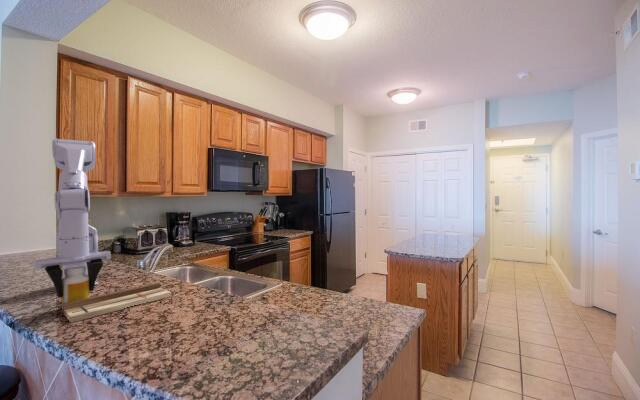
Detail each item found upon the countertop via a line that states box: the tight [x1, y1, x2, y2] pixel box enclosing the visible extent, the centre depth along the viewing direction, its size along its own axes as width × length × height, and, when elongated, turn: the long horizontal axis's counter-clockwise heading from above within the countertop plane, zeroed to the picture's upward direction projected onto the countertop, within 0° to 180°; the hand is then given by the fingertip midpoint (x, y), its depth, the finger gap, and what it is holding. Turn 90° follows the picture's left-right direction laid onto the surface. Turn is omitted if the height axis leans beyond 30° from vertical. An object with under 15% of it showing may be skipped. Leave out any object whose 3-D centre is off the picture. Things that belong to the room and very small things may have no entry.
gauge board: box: [62, 281, 172, 323], centre depth 76 cm, size 8×21×2 cm, turn 140°
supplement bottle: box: [60, 266, 91, 310], centre depth 74 cm, size 5×5×10 cm
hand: (75, 293), depth 74 cm, fingers open, 5 cm apart
